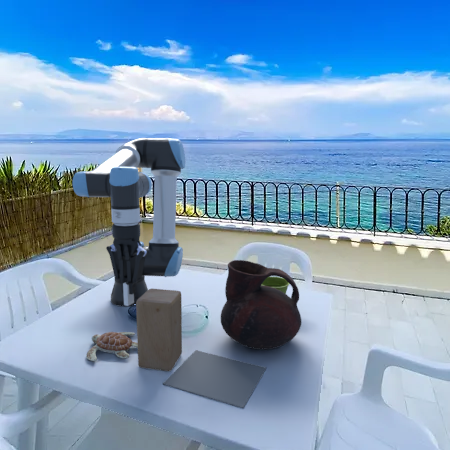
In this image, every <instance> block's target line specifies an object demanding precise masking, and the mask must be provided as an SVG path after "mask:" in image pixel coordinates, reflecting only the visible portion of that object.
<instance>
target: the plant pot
mask: <svg viewBox="0 0 450 450" xmlns="http://www.w3.org/2000/svg"><path fill="white" fill-rule="evenodd" d="M261 285H262V286H269V287H273V288H276V289H278V290H280V291H282V292H283V293H285V294H286V295H287V290H288V287H289V286H290V284H289V283H288V282H287V281H286V280H285V279H284V278H282V277H279V276H270V277H267V278H266V279H265V280H264V282H263V283H262V284H261Z"/></svg>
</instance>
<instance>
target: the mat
mask: <svg viewBox="0 0 450 450" xmlns="http://www.w3.org/2000/svg"><path fill="white" fill-rule="evenodd" d="M266 369H267V367H266V366H262V365H258V364H254V363H248V362H245V361H241V360H238V359H233V358H229V357H225V356H221V355H217V354H213V353H209V352H204V351H201V350H196V349H195V351H193V352H192V354H190V355H189V356H188V357H187V358H186V359H185V361H183V362H182V364H181V365H179V366H178V368H176V369H175V371H174V372H172V374H171V375H170V376H168V377H167V379H166V380H164V382H162V385H163V386H166V387H170V388H174V389H177V390H180V391H183V392H186V393H190V394H193V395H197V396H199V397H204V398H207V399H210V400H213V401H216V402H220V403H224V404H227V405H230V406H234V407H237V408H240V409H245V406H246V405H247V403H248V401H249V399H250V398H251V395H252V394H253V392H254V390H255V389H256V388H257V385H258V384H259V382H260V380H261V378H262V377H263V374H264V373H265V371H267V370H266Z"/></svg>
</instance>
